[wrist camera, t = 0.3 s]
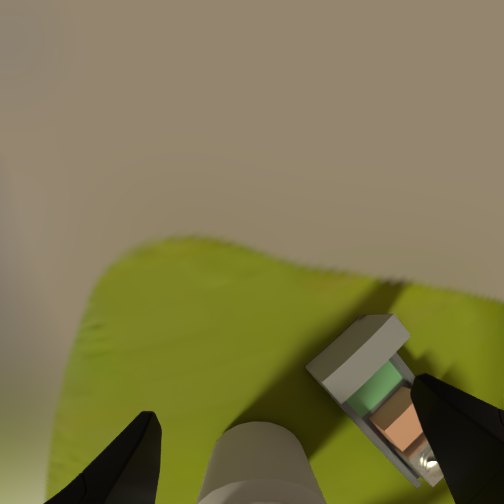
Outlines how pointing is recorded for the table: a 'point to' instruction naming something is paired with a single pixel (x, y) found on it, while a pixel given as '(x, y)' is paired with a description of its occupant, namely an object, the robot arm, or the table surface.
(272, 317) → the table surface
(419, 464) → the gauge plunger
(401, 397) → the block
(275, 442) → the can
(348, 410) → the gauge bench
